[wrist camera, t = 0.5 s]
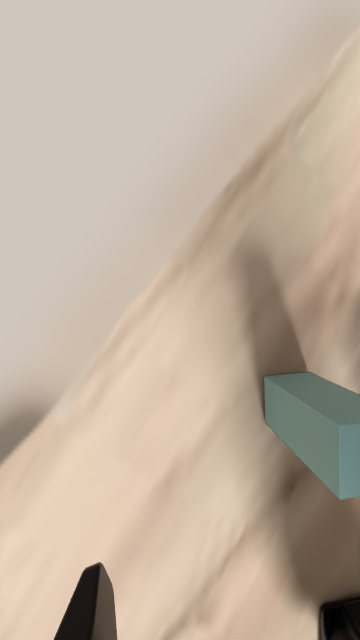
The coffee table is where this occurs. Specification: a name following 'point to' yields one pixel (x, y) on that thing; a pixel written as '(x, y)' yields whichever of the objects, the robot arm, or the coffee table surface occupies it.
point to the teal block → (318, 427)
